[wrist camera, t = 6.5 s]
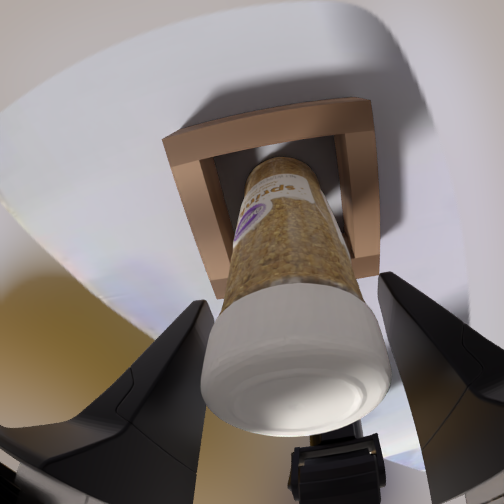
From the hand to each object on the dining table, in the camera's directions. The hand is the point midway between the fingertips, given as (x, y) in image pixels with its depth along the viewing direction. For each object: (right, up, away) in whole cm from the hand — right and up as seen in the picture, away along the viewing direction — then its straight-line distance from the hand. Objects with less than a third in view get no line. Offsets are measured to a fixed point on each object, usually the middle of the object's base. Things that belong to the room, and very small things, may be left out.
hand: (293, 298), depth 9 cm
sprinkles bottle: (0, +5, +8) cm, 10 cm away
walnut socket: (0, +5, +8) cm, 10 cm away
